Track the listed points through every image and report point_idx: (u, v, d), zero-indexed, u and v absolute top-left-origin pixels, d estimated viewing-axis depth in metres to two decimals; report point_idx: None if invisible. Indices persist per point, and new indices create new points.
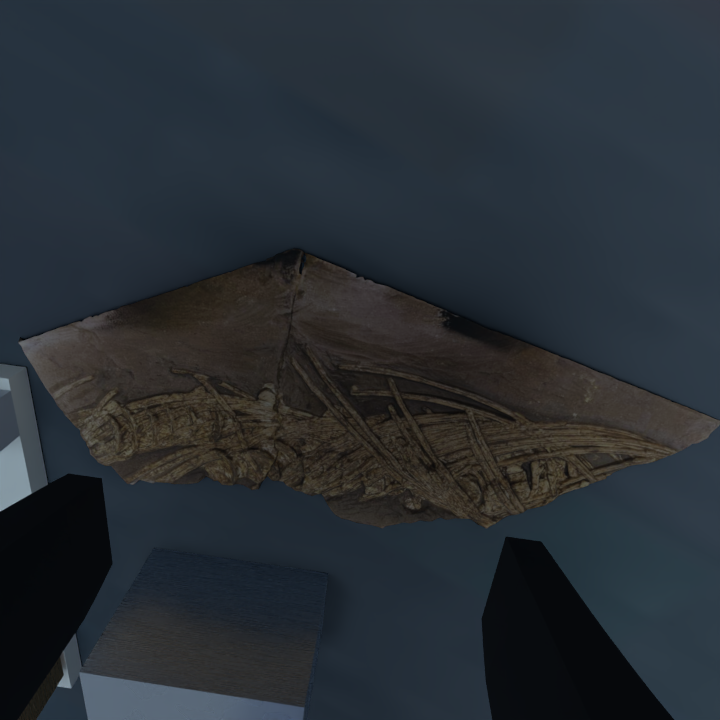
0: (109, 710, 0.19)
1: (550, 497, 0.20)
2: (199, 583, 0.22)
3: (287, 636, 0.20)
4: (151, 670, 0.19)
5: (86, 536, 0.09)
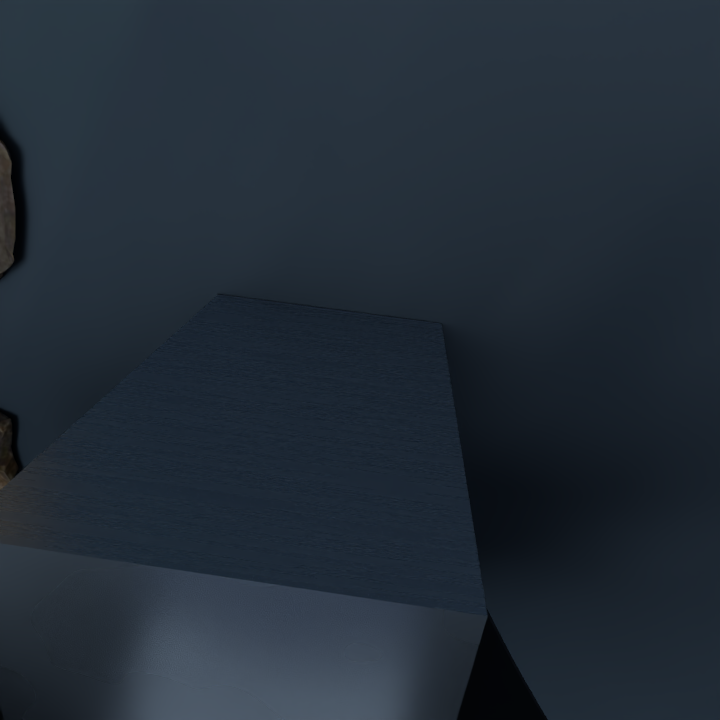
0: None
1: None
2: None
3: None
4: None
5: None
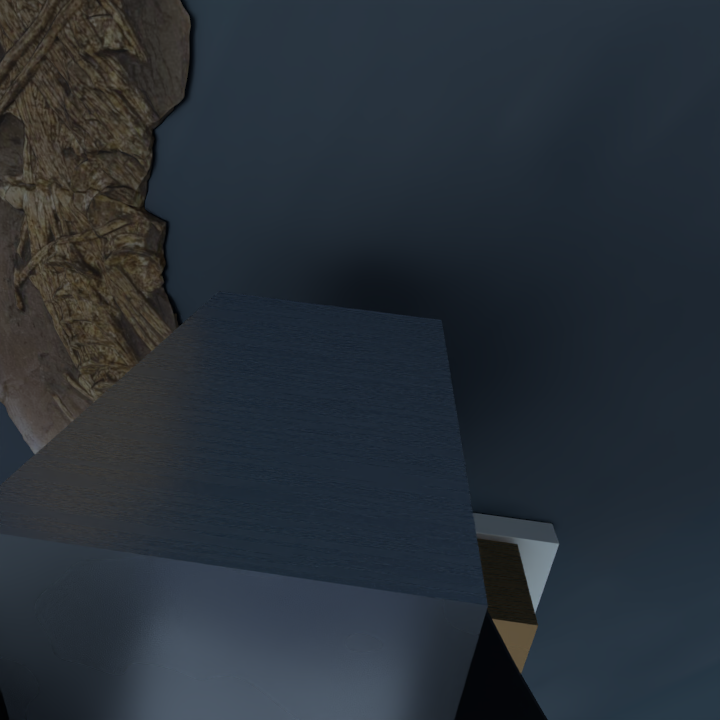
0: None
1: None
2: None
3: None
4: None
5: None
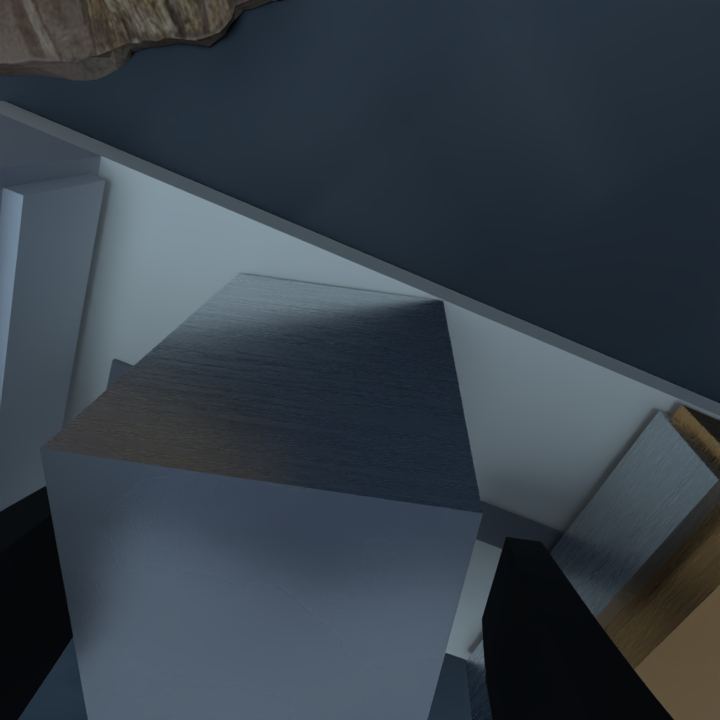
0: None
1: None
2: None
3: None
4: None
5: None
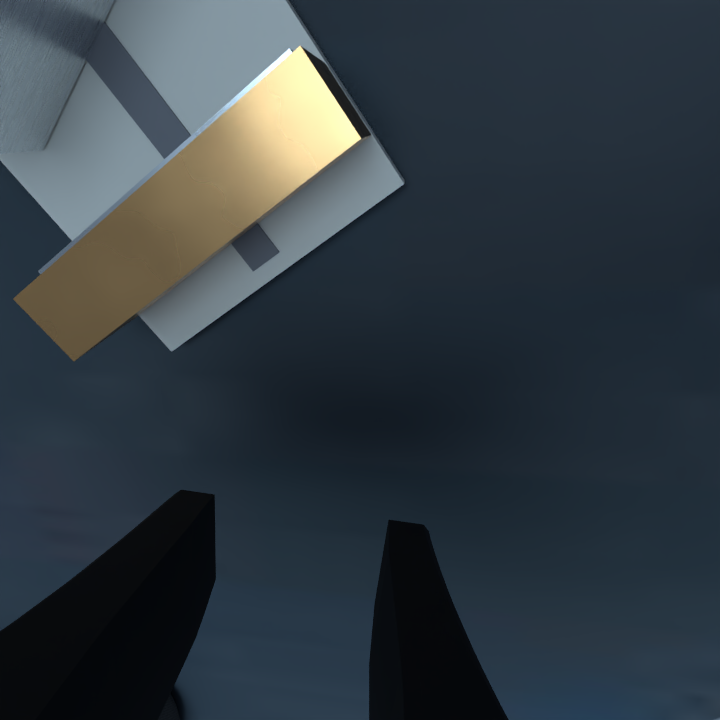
0: None
1: None
2: None
3: None
4: None
5: (202, 553, 0.09)
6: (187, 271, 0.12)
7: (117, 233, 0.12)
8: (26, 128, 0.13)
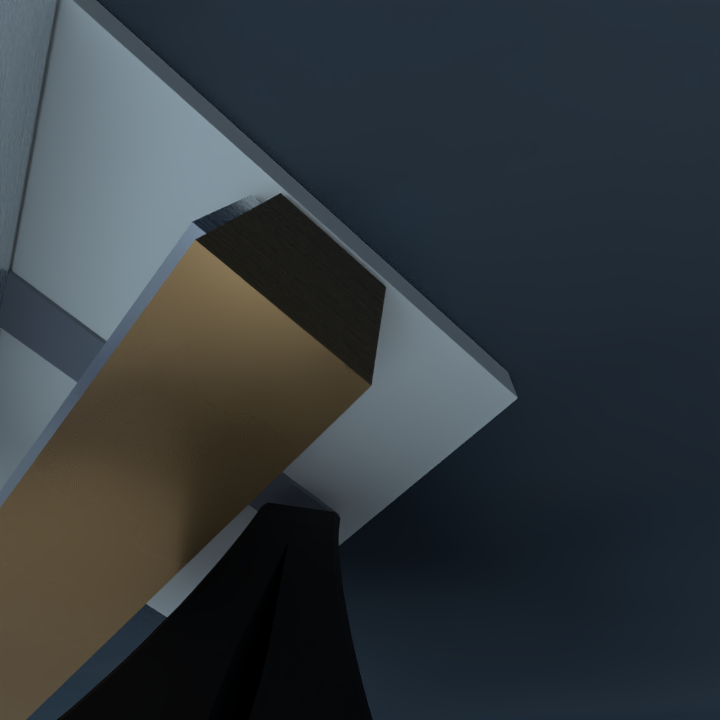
0: None
1: None
2: None
3: None
4: None
5: None
6: (112, 632, 0.07)
7: None
8: None
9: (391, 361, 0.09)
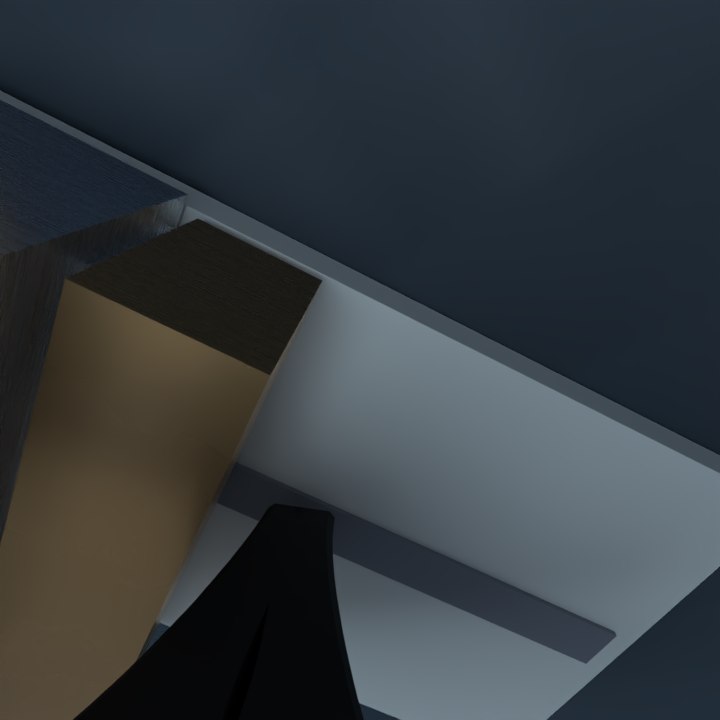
0: None
1: None
2: None
3: None
4: None
5: None
6: None
7: (5, 656, 0.07)
8: None
9: (655, 499, 0.09)
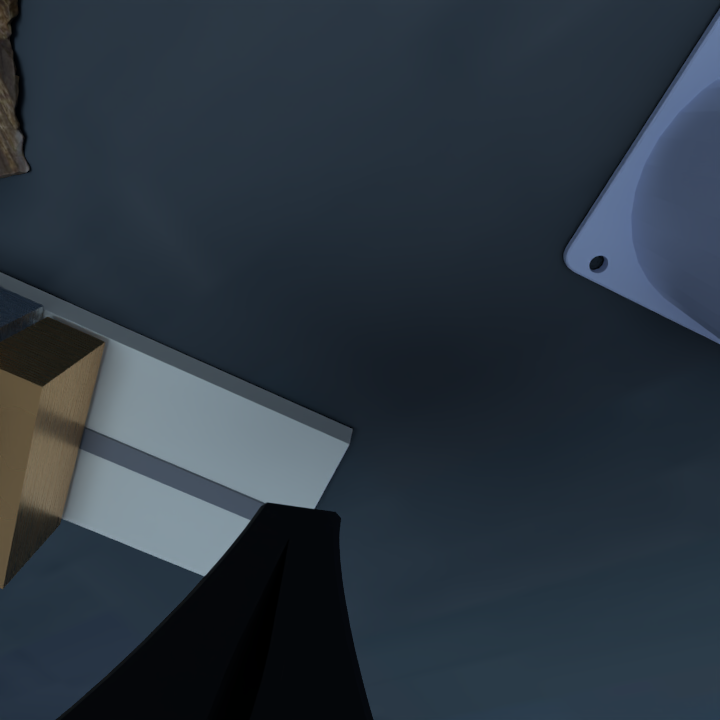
0: None
1: None
2: None
3: None
4: None
5: None
6: (17, 507, 0.17)
7: None
8: None
9: (288, 441, 0.19)
